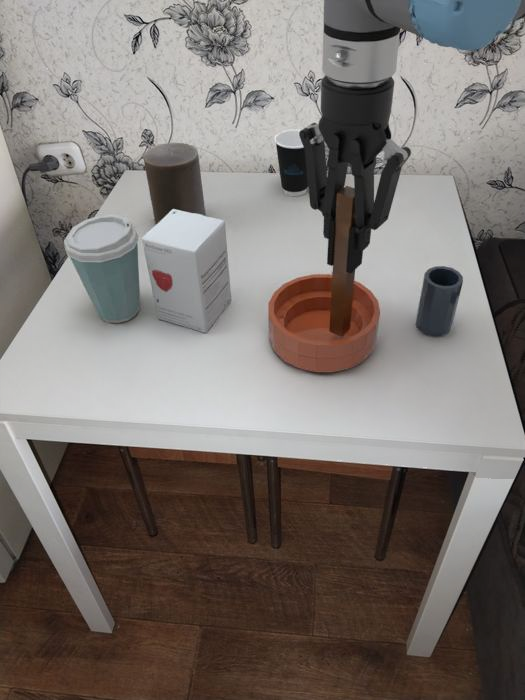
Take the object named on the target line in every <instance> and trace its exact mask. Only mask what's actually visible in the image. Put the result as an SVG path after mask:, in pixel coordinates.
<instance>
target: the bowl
mask: <svg viewBox="0 0 525 700" xmlns="http://www.w3.org/2000/svg"><path fill="white" fill-rule="evenodd" d="M331 291H332V273H330V274H329V273H318V274H317V273H313V274H308V275H303V276H298V277H296V278H293V279H291V280H289V281H287V282H285V283H283V284H282V285H281V286H280V287H278V289H276V290H275V291H274V292H273V294H272V295H271V297H270V299H269V301H268V307H267V308H268V309H267V310H268V311H267V313H268V315H267V316H268V339H269V342H270V344H271V347H272V349H273V351H274V353H275V354H276V355H277V356H278V357H280V358H281V359H282V360H283V361H284V362H285V363H287V364H290V365H292V366H293V367H296V368H298V369H301V370H304V371H310V372H314V373H337V372H340V371H344V370H348V369H351V368H354V367H355V366H357V365H359V364H361V363H362V362H365V360H366V359H367V358H368V357H369V356H370V355H371V354H372V352H373V351H374V349H375V346H376V343H377V338H378V332H379V325H380V324H379V323H380V317H381V309H380V304H379V300H378V299H377V297H376V296H375V294H374V293H373V292H372V291H371V289H369V288H368V287H366V286H365V285H364V284H362V283H361V282H360V281H357V280H354V290H353V301H352V312H351V324H350V329H349V331H348V332H347V333H346V334H345V335H344V336H343V337H341V336H338V335H336V334H334V333H332V332H329V326H330V308H331Z"/></svg>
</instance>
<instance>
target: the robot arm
mask: <svg viewBox="0 0 525 700" xmlns="http://www.w3.org/2000/svg"><path fill="white" fill-rule="evenodd" d="M521 19H525V0H323V30H322V62H321V63H322V64H321V72H322V73H323V75H324V76H323V78H322V79H321V82H320V83H321V85H320V113H321V117H320V119H319V120H318V123H316V122H312V123H310V124H309V125H306V127H304V128H303V129H300V130H301V131H300V132H299V136H300V139H301V142H302V144H303V147H304V149H305V157H306V167H307V178H308V188H307V189H308V197H309V205H310V208H311V209H312V210H315V211H316V210H318V211H319V212H320V213H321V214H322V217H323V229H322V234H323V238H324V239H327V254H326V255H327V256H326V257H327V258H326V259H327V261H326V264H327V265H329V266H330V267H333V257H334V239H335V220H336V203H337V193H338V192H339V191H341V190H342V189H343V188H344V187H346V186H345V185H346V180H347V174H348V168H349V165H351V175H352V176H353V181H354V183H353V184H354V187H353V188H354V190H355V224H354V225H352V226H351V227H350V228H349V238H348V252H347V265H346V272H348V273H352V272H353V271H354V270H355V271H356V269H358V268H359V267H360V266H361V265H362V263H363V256H364V255H363V254H364V251H365V250H366V249H367V248H368V247H369V246H370V243H371V237H372V236H371V235H372V230H373V231H376V230H378V229H379V228H380V227H381V226H382V225H383V224H385V223H386V222H387V221H388V219H389V217H390V212H391V208H392V206H393V201H394V198H395V194H396V190H397V187H398V183H399V179H400V176H401V172H402V168H403V166H404V165H405V164H406V162H407V161H408V159H409V158H410V157H411V155H412V150H411V148H410V147H408V146H403V147H400V146H399V145H398V144H397V143H396V142H395V141H394V140H392V131H391V128H390V117H391V114H392V108H393V99H394V90H395V79H394V78H393V76H394V75H395V74H396V72H397V65H398V54H399V53H398V52H399V45H400V44H399V43H400V33H401V30H403V31H406V32H408V33H410V34H413V35H416V36H418V37H421V38H423V39H424V40H426V41H428V42H429V43H431V44H432V45H433V44H436V45H437V46H439V47H444V48H453V49H457V50H460V51H477V50H480V49H483V48H486V47H487V46H488V45H490V44H491V43H492V42H493V40H494V39H496V38H497V37H498V36H500V35H502V34H503V33H504V32H505V31H506V30H507V28H508V27H509V26H510V25H511V24H512V22H515V21H519V20H521ZM326 146H327V148H328V155H326ZM382 151H383V159H382V164H383V165H384V166H383V168H382V171H381V174H380V176H379V177H380V178H379V182H378V185H377V186H378V187H377V189H376V194H375V168H376V166H377V156H378V155H380V153H381V152H382ZM327 168H328V169H327Z"/></svg>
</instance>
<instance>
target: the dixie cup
mask: <svg viewBox="0 0 525 700" xmlns="http://www.w3.org/2000/svg"><path fill="white" fill-rule="evenodd" d="M301 130H302V129H298V128H296V129H295V128H294V129H293V128H292V129H287V130H282V131H280V132H278V133H277V134H276V135H275V136H274V138H273V140H274V141H273V142H274V143H275V145H276V146H275V147H276V155H277V162H278V169H279V176H280V177H279V178H280V184H281V188H282V192H283V193H284V195H287V196H289V197H299V196H303V195H305V194H306V193H307V191H308V189H309V188H308V178H307V167H306V157H305V149H304V147H303V144H302V142H301V139H300V136H299V132H300V131H301Z"/></svg>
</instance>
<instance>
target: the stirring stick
mask: <svg viewBox="0 0 525 700" xmlns="http://www.w3.org/2000/svg"><path fill="white" fill-rule="evenodd" d="M354 224H355V190H354V187H352V186H349V185H346V186H344V188H343V189H342V190H341V191H339V192H338V193H337V203H336V220H335V239H334V257H333V266H332V273H331V275H332V291H331V308H330V326H329V332H332V333H334V334H336V335H338V336H341V337H343V336H344V335H345V334H346V333H347V332H348V331H349V329H350V324H351V312H352V301H353V290H354V281H355V278H356V269H355V270H354V271H353V272H352V273H348V272H346V265H347V252H348V238H349V228H350V227H351V226H352V225H354Z"/></svg>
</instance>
